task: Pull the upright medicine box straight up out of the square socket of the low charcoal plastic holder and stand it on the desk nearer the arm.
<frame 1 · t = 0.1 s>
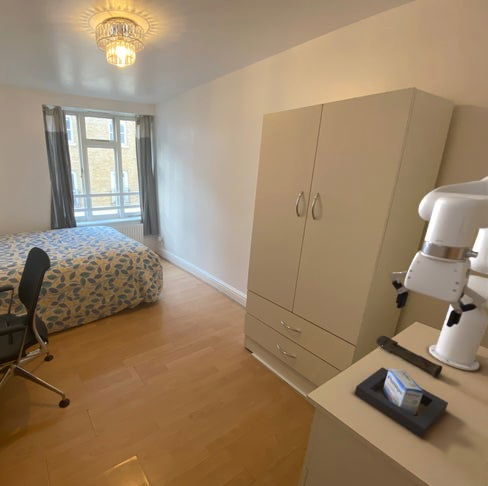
hand: (424, 315, 68), 31 cm above the table, tool pointing down, fingers open, 9 cm apart
hand tool: (403, 359, 98), on the table
medicine box: (397, 403, 81), resting in holder
holder: (398, 402, 81), on the table
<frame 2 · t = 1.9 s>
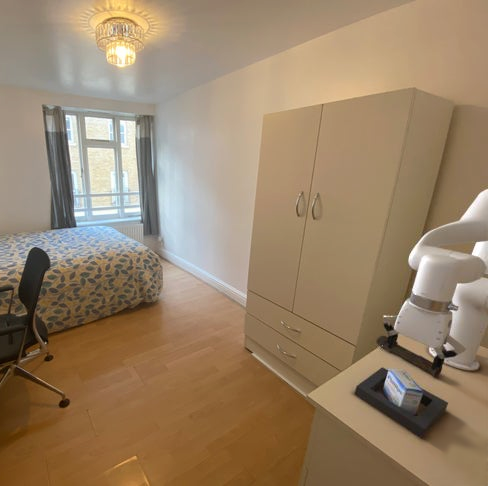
hand: (411, 357, 76), 16 cm above the table, tool pointing down, fingers open, 9 cm apart
nothing on the table moved.
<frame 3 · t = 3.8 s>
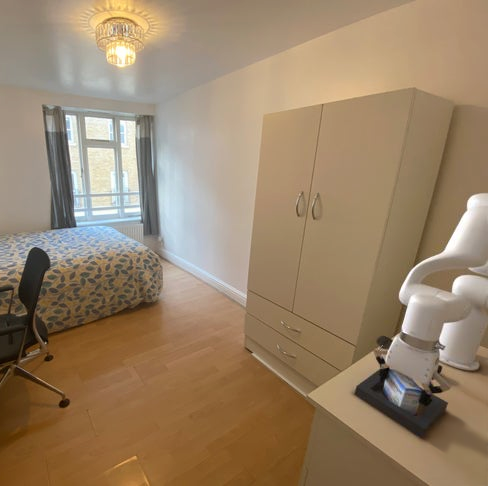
hand: (401, 389, 79), 5 cm above the table, tool pointing down, fingers closed on medicine box, 8 cm apart
medicine box: (397, 403, 81), resting in holder, touching gripper
everything else where it was.
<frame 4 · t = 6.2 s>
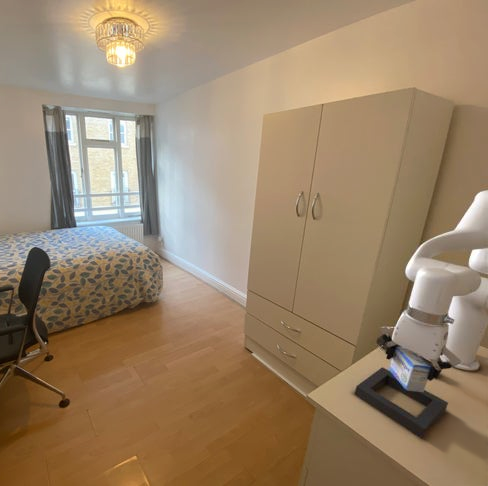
hand: (409, 367, 77), 12 cm above the table, tool pointing down, fingers closed on medicine box, 8 cm apart
medicine box: (405, 381, 79), point 7 cm above the table, touching gripper
everything else where it was.
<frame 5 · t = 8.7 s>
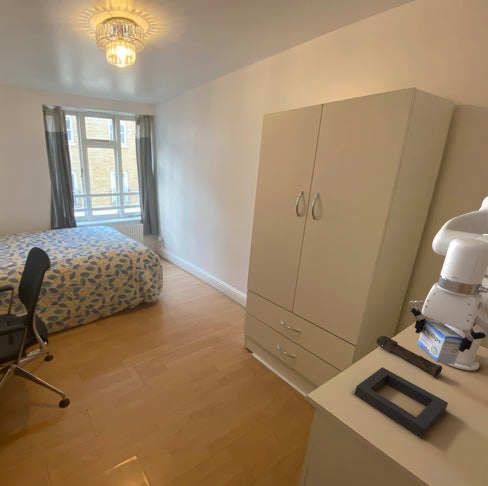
hand: (439, 340, 77), 20 cm above the table, tool pointing down, fingers closed on medicine box, 8 cm apart
medicine box: (434, 354, 79), point 15 cm above the table, touching gripper
everything else where it was.
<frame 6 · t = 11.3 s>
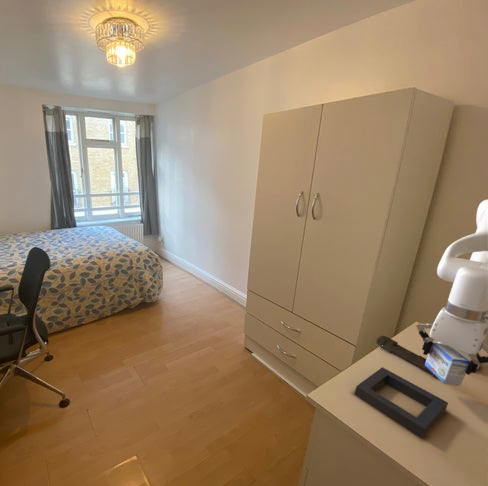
hand: (446, 362, 81), 11 cm above the table, tool pointing down, fingers closed on medicine box, 8 cm apart
medicine box: (441, 375, 83), point 6 cm above the table, touching gripper
everything else where it was.
when the fingers open (5 cm above the table, at t = 13.5 s): medicine box stays where it is, on the table.
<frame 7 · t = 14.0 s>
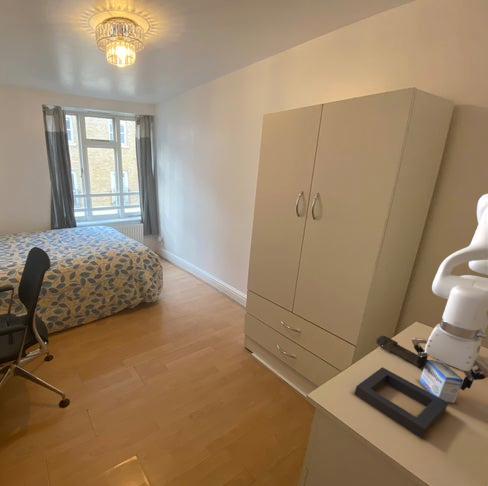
hand: (441, 376, 83), 5 cm above the table, tool pointing down, fingers open, 9 cm apart
medicine box: (435, 392, 84), on the table
everything else where it was.
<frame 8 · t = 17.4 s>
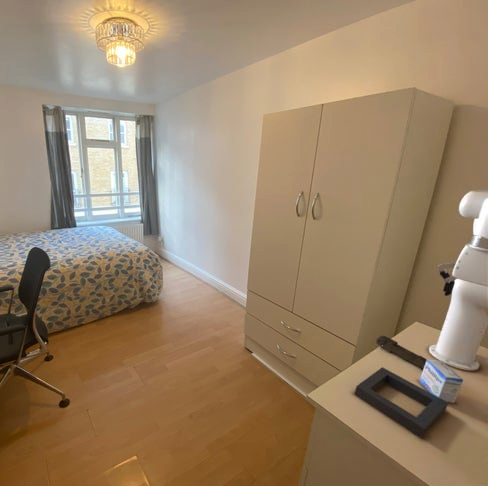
hand: (470, 301, 77), 30 cm above the table, tool pointing down, fingers open, 9 cm apart
nothing on the table moved.
at the end: medicine box inside the target area (0.0 cm from its centre), on the table; medicine box tilted 0°; the gripper is holding nothing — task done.
